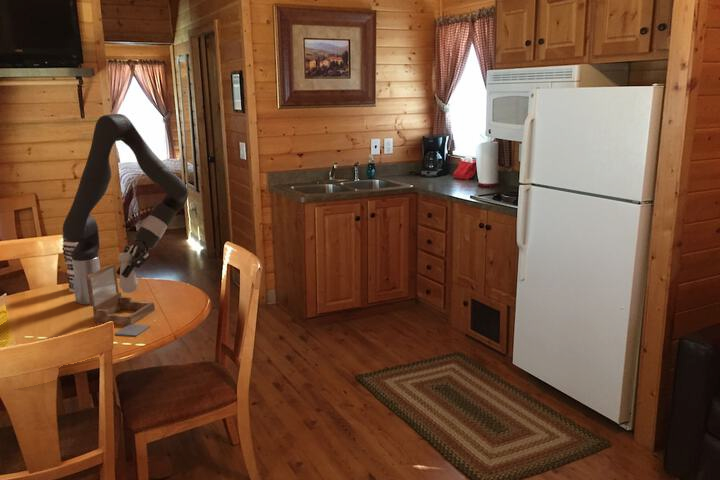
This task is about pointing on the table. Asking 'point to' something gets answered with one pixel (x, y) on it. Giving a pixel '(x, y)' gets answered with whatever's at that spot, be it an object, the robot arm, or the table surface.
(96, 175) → the robot arm
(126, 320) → the frame
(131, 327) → the plate
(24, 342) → the table surface
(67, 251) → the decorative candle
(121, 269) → the salt shaker
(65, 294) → the table surface
